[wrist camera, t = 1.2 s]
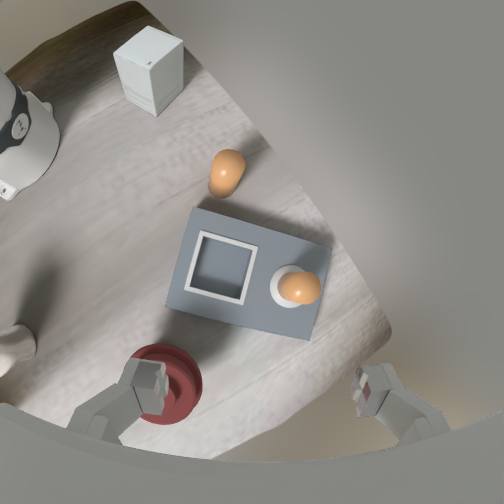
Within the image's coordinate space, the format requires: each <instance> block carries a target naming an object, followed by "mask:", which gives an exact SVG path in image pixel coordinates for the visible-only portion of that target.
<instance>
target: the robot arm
mask: <svg viewBox="0 0 504 504" xmlns="http://www.w3.org/2000/svg"><path fill="white" fill-rule="evenodd" d="M1 1H2V0H0V2H1ZM59 138H60V133H59V127H58V125H57V123H56V121H55V119H54V118H53V108H52V105H51V104H50V103H48V102H45V103H41V102H40V101H39V100H38V99H37V98H36V97H35V96H34V95H33V94H32V93H31V92H29V91H28V92H23V90H22V89H21V88H20V87H19V86H18V85H17V84H16V83H14V82H13V81H10V80H9V79H8V78H7V76H6V75H5V74H4V72H3V71H2V70H1V68H0V196H1V197H2V198H4V199H5V200H7V201H10V200H12V199H13V198H14V197H15V196H16V195H17V194H18V192H19V191H20V190H22V189H23V188H25V187H27V186H29V185H31V184H32V183H34V182H35V181H36V180H38V179H39V178H40V177H41V176H42V175H43V174H44V172H45V171H46V170H47V169H48V167H49V166H50V164H51V162H52V161H53V159H54V157H55V154H56V152H57V149H58V145H59ZM5 190H6V191H5ZM4 192H5V193H4ZM165 371H166V366H165V363H164V362H158V361H151V360H145V359H138V358H132V357H131V358H130V359H129V360H128V362H127V364H126V366H125V369H124V371H123V373H122V375H121V378H120V380H119V382H118V384H116V383H114V384H113V385H111V386H110V387H108V388H107V389H105V390H104V391H102V392H100V393H99V394H97V395H96V396H94V397H93V398H91V399H89V400H88V401H86V402H85V403H83V404H82V405H80V406H78V407H77V408H76V409H75V411H74V413H73V415H72V418H71V420H70V422H69V424H68V426H67V428H63V427H60V426H57V425H55V424H52V423H50V422H47V421H45V420H42V419H40V418H37V417H35V416H33V415H31V414H28V413H26V412H24V411H22V410H20V409H18V408H16V407H14V406H12V405H9V404H7V403H1V404H0V504H504V410H500V411H498V412H496V413H494V414H491V415H489V416H487V417H485V418H483V419H480V420H478V421H475V422H473V423H470V424H467V425H465V426H463V427H460V428H457V429H454V430H450V428H449V426H448V424H447V422H446V419H445V417H444V415H443V414H442V412H441V411H440V410H438V409H437V408H435V407H434V406H432V405H430V404H429V403H428V402H426V401H425V400H423V399H422V398H420V397H419V396H417V395H416V394H414V393H413V392H411V391H410V390H408V389H407V388H403V387H402V385H401V383H400V381H399V379H398V377H397V375H396V373H395V371H394V368H393V367H392V365H391V364H390V363H384V364H374V365H364V366H359V367H358V368H357V370H356V375H357V376H356V377H355V378H353V380H352V383H351V396H352V399H353V400H355V401H356V405H355V409H356V412H357V416H358V418H361V417H369V416H376V418H377V419H378V420H379V421H380V422H382V424H383V425H385V426H386V427H387V428H388V429H389V430H390V431H391V432H392V433H393V434H394V435H395V436H396V437H397V438H398V439H399V440H400V441H399V442H398V443H397V444H396V446H395V447H392V448H387V449H383V450H378V451H373V452H367V453H362V454H356V455H349V456H342V457H334V458H325V459H315V460H302V461H282V462H239V461H221V460H209V459H198V458H189V457H182V456H175V455H168V454H162V453H156V452H151V451H146V450H141V449H136V448H131V447H127V446H123V445H122V443H121V441H120V440H119V438H118V436H119V435H120V434H122V433H123V432H124V431H125V430H126V429H127V428H128V427H129V426H130V425H132V424H133V423H134V422H135V421H136V420H137V419H138V418H139V417H140V416H141V415H142V414H143V413H146V414H153V415H161V416H162V412H163V409H164V405H165V403H164V399H163V398H165V397H166V396H167V393H168V387H169V380H168V375H166V374H165Z"/></svg>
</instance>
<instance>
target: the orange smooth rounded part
mask: <svg viewBox="0 0 504 504" xmlns="http://www.w3.org/2000/svg"><path fill="white" fill-rule="evenodd" d="M245 166H246V164H245V160H244V158H243V156H242V155H241V154H240V153H239V152H237V151H235V150H231V149H226V150H222V151H220V152H219V153H218V154H217V155H216V156H215V157H214V160H213V164H212V169H211V174H210V180H209V190H210V192H211V194H212V195H213V196H215V197H217V198H227V197H229V196H230V195H232V193H233V192H234V190H235V188H236V186H237V184H238V182H239V180H240V178H241V176H242V174H243V172H244V170H245Z"/></svg>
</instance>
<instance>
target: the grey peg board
mask: <svg viewBox="0 0 504 504" xmlns="http://www.w3.org/2000/svg"><path fill="white" fill-rule="evenodd" d="M331 250H332V248H329V247H326V246H322V245H319V244H316V243H313V242H310V241H307V240H303V239H300V238H297V237H294V236H291V235H287V234H284V233H281V232H278V231H274V230H271V229H268V228H264V227H261V226H258V225H255V224H251V223H248V222H245V221H241V220H238V219H234V218H231V217H228V216H224V215H221V214H217V213H214V212H210V211H207V210H204V209H200V208H197V207H193V208H192V211H191V214H190V218H189V221H188V224H187V228H186V231H185V234H184V238H183V241H182V245H181V248H180V252H179V255H178V259H177V263H176V266H175V270H174V274H173V277H172V281H171V285H170V289H169V293H168V297H167V301H166V305H165V307H168V308H172V309H175V310H179V311H182V312H186V313H190V314H193V315H197V316H201V317H205V318H209V319H213V320H217V321H221V322H225V323H229V324H233V325H237V326H242V327H246V328H250V329H255V330H259V331H264V332H268V333H273V334H278V335H283V336H288V337H293V338H298V339H303V340H308V341H310V337H311V333H312V330H313V326H314V322H315V318H316V314H317V310H318V307H319V303H320V298H321V294H322V290H323V286H324V282H325V277H326V273H327V269H328V264H329V260H330V255H331Z"/></svg>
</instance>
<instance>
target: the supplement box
mask: <svg viewBox="0 0 504 504" xmlns="http://www.w3.org/2000/svg"><path fill="white" fill-rule="evenodd" d="M183 42H184V41H183V40H181V39H179V38H177V37H174V36H172V35H170V34H167V33H165V32H163V31H160V30H158V29H155V28H153V27H150V26H147V27H145V28H144V29H143V30H141V31H140V32H139V33H137V34H136V35H135V36H134V37H132V38H131V39H130V40H129V41H127V42H126V43H125V44H124V45H122V46H121V47H120V48H119V49H117V50H116V51H115V52H114V53H113V55H114V59H115V62H116V66H117V69H118V72H119V76H120V79H121V82H122V85H123V89H124V92H125V95H126V98H127V100H128V101H130V102H132V103H133V104H135V105H137V106H139V107H140V108H142V109H144V110H146V111H147V112H149V113H151V114H152V115H154V116H156V117H157V116H158V115H159V114H160V113H161V112H162V111H163V110H164V109H165V108H166V107H167V106H168V105H169V103H170V102H172V100H173V99H174V98H175V97H176V96H177V95H178V94H180V92H181V91H182V90H183V88H184V87H183Z"/></svg>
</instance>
